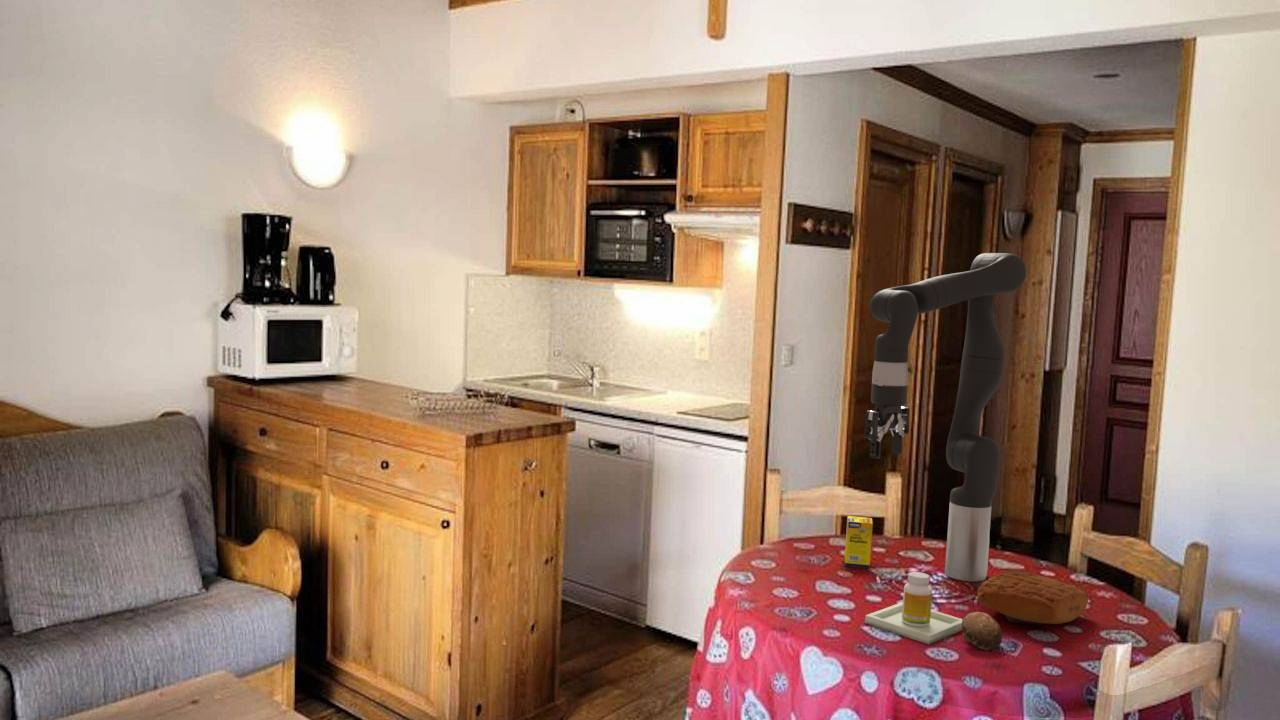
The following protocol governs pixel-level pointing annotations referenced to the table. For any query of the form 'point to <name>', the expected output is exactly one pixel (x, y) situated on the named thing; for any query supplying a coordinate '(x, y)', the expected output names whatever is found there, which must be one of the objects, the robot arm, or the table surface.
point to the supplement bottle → (917, 600)
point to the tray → (893, 622)
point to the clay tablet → (1032, 597)
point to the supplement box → (858, 541)
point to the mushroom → (981, 630)
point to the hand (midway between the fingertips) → (885, 456)
